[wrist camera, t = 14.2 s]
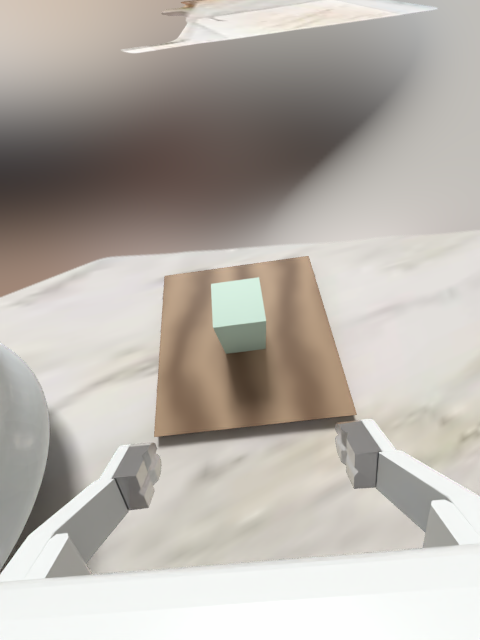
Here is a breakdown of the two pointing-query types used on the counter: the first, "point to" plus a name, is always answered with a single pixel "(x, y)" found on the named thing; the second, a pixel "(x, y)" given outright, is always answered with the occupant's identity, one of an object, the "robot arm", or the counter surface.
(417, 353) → the counter surface
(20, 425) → the bowl
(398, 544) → the counter surface
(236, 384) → the walnut board
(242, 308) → the green block
